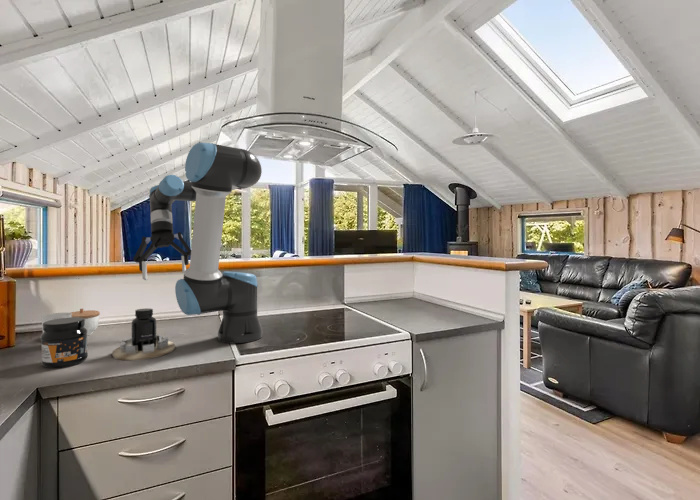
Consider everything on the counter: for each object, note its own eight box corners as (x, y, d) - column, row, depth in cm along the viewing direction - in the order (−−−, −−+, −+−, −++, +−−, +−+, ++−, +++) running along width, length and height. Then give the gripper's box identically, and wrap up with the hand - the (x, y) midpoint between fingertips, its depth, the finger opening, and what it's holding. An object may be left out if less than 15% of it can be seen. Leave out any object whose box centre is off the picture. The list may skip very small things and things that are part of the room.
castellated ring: (175, 342, 123) (175, 335, 123) (150, 355, 110) (150, 347, 110) (139, 341, 125) (139, 333, 125) (110, 353, 112) (110, 345, 112)
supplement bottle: (145, 351, 114) (145, 312, 113) (126, 350, 115) (125, 311, 115) (161, 345, 120) (161, 308, 120) (143, 344, 122) (142, 307, 121)
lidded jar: (81, 330, 143) (80, 305, 142) (107, 331, 141) (106, 306, 141) (55, 337, 132) (55, 311, 132) (83, 339, 131) (82, 312, 130)
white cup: (78, 343, 125) (77, 313, 125) (51, 350, 118) (50, 318, 118) (64, 340, 129) (63, 311, 128) (36, 347, 122) (35, 316, 121)
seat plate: (185, 344, 125) (185, 341, 125) (152, 361, 108) (152, 358, 108) (137, 342, 127) (137, 339, 127) (98, 359, 110) (98, 355, 110)
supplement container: (35, 371, 100) (34, 326, 100) (48, 359, 110) (47, 318, 109) (83, 366, 104) (82, 323, 104) (91, 354, 114) (90, 315, 114)
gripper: (198, 223, 152) (202, 273, 145) (130, 232, 147) (131, 284, 140) (193, 215, 145) (198, 267, 138) (122, 224, 140) (123, 278, 133)
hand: (164, 276), depth 139 cm, fingers open, 13 cm apart
